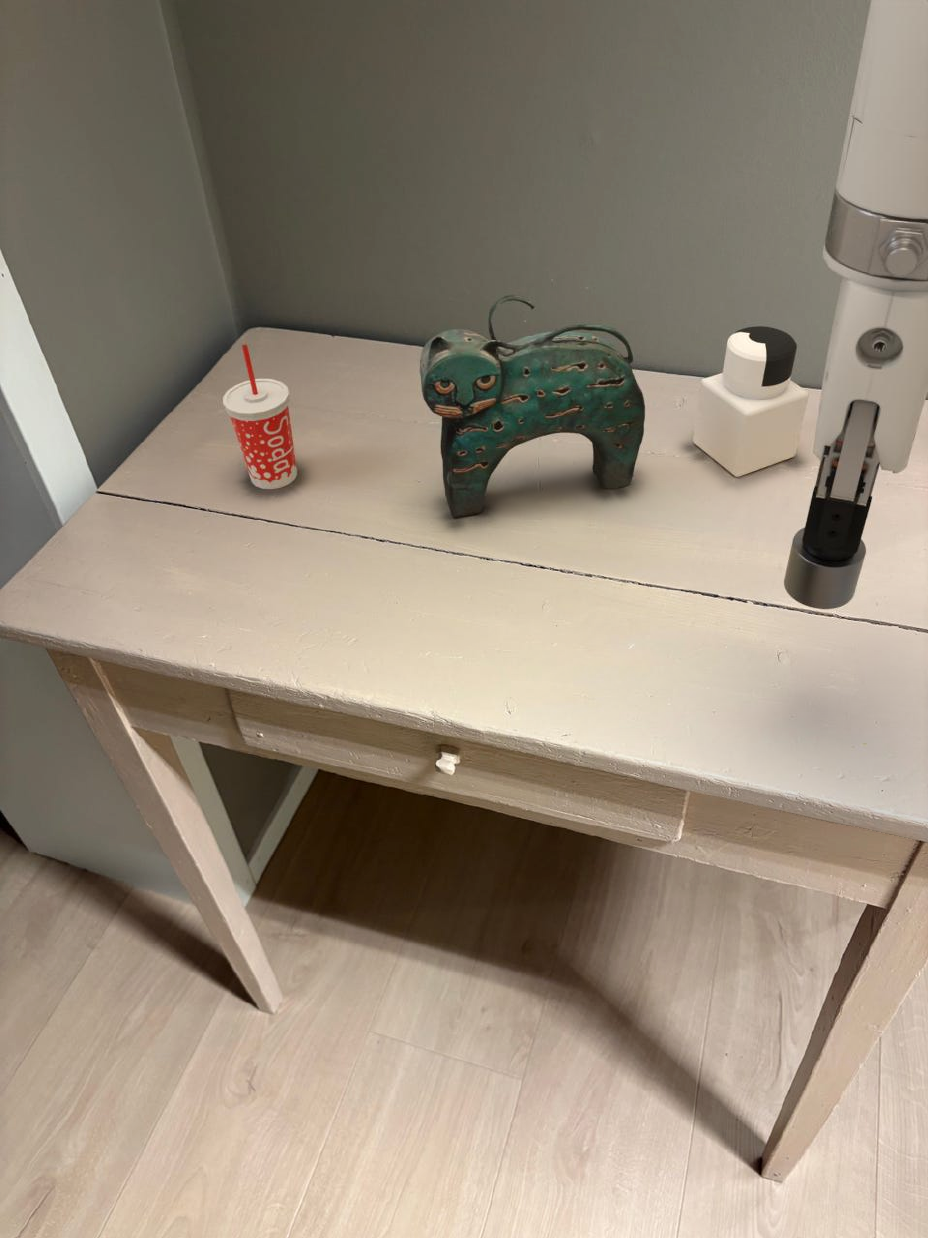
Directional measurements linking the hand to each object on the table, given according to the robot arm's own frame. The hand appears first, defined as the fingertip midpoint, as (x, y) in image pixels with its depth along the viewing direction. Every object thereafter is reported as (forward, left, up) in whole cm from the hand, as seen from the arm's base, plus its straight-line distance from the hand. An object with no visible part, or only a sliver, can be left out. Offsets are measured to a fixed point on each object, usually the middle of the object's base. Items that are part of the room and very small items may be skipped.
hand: (834, 525), depth 59 cm
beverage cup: (+51, -12, -17) cm, 55 cm away
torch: (0, 0, -5) cm, 5 cm away
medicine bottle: (+9, -31, -17) cm, 37 cm away
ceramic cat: (+26, -18, -17) cm, 36 cm away
